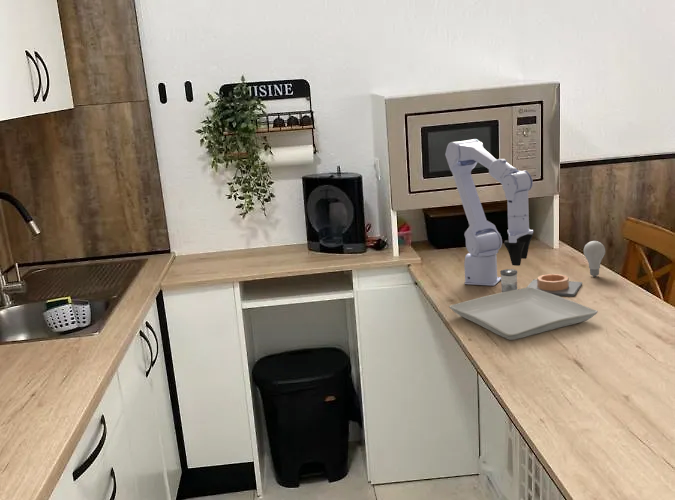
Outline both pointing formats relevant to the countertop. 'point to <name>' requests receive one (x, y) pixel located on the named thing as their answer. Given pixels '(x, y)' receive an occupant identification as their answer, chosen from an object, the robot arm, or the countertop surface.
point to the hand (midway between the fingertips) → (519, 261)
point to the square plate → (522, 312)
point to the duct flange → (556, 285)
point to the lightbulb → (594, 256)
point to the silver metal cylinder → (508, 280)
